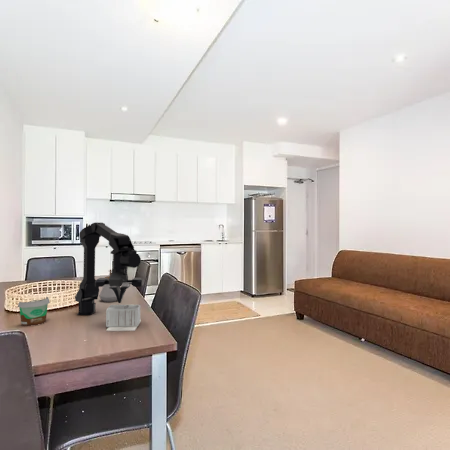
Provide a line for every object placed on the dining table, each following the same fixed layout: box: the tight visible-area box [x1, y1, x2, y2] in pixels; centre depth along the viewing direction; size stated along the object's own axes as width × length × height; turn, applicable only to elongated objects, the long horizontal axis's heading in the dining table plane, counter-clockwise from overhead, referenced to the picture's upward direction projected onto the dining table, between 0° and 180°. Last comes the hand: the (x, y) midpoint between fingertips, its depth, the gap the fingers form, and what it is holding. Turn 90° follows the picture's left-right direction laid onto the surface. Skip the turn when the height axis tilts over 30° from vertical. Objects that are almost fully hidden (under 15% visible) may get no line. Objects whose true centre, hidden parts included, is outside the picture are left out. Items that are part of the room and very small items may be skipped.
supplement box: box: [105, 304, 141, 328], centre depth 134 cm, size 7×7×13 cm
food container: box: [17, 296, 50, 327], centre depth 135 cm, size 12×6×10 cm, turn 148°
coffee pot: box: [98, 268, 118, 303], centre depth 181 cm, size 21×12×15 cm, turn 20°
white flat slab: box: [106, 319, 142, 332], centre depth 134 cm, size 11×13×1 cm
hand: (119, 302), depth 134 cm, fingers closed
